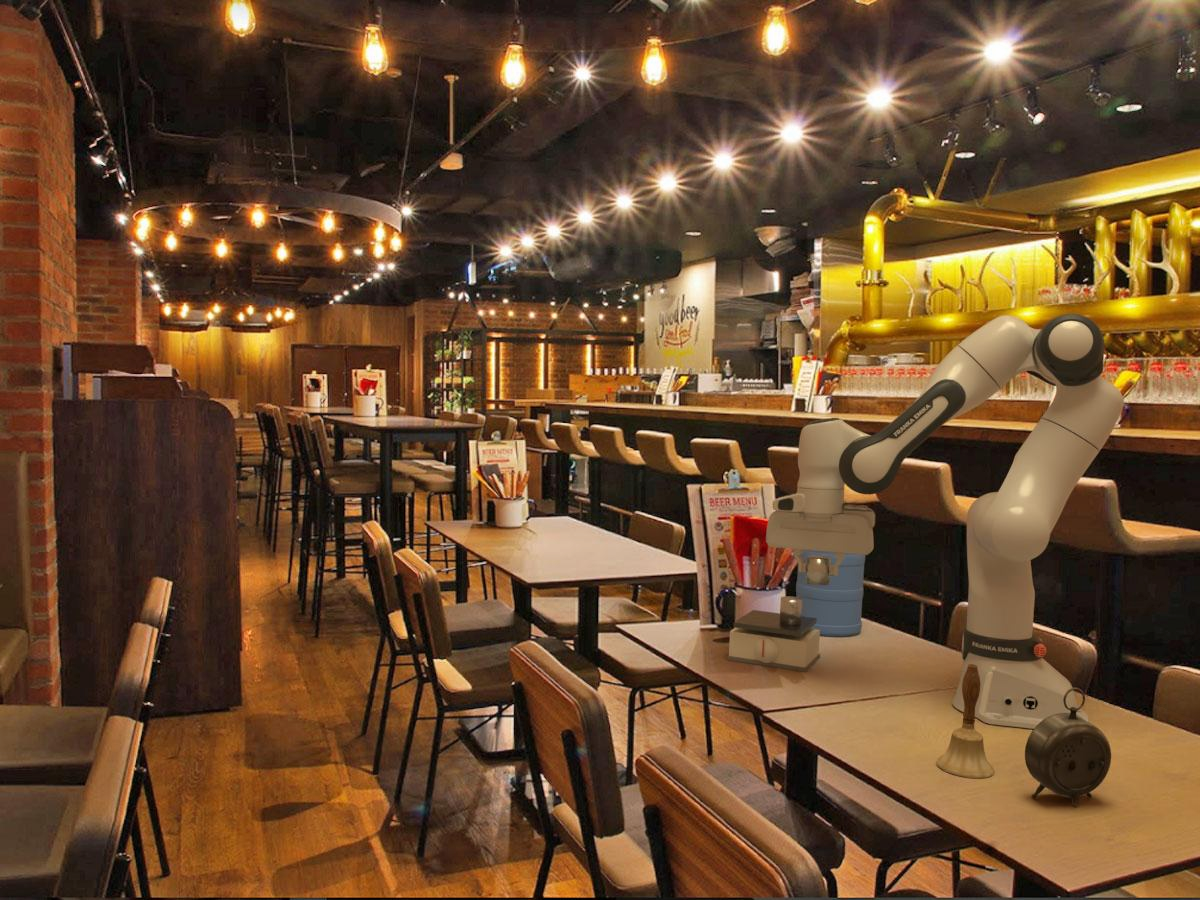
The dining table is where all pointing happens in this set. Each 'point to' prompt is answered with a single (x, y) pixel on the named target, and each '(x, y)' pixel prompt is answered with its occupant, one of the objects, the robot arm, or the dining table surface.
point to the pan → (773, 623)
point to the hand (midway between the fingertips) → (818, 574)
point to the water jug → (834, 596)
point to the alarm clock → (1067, 754)
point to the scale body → (774, 648)
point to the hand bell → (967, 736)
